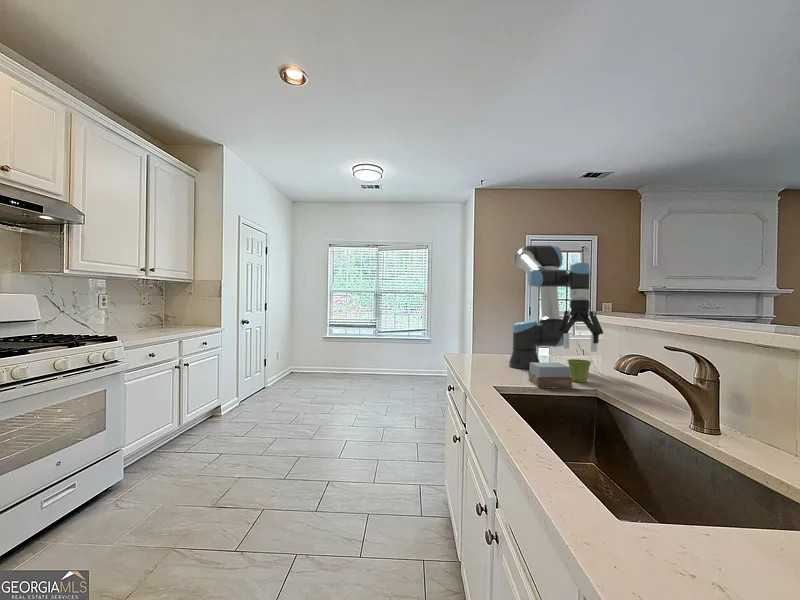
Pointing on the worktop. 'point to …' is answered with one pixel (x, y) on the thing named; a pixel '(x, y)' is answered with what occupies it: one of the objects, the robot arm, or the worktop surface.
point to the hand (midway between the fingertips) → (579, 350)
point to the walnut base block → (551, 381)
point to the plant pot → (579, 369)
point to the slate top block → (549, 369)
